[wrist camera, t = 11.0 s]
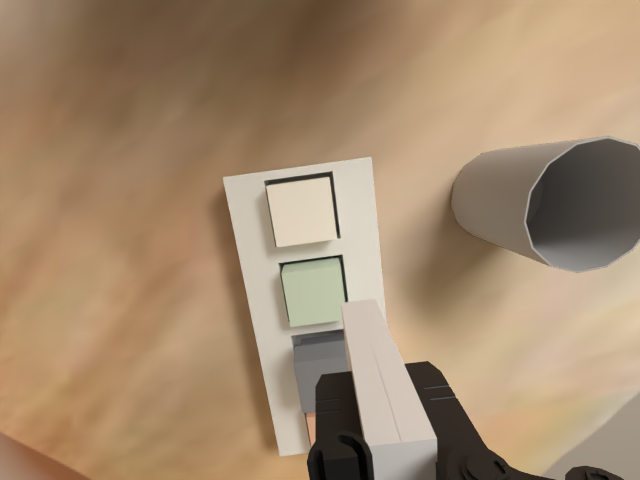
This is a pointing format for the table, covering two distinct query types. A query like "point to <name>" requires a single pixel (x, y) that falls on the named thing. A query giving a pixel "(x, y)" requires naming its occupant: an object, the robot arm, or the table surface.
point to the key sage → (313, 291)
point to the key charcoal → (317, 364)
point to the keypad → (268, 260)
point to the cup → (555, 201)
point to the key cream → (302, 211)
